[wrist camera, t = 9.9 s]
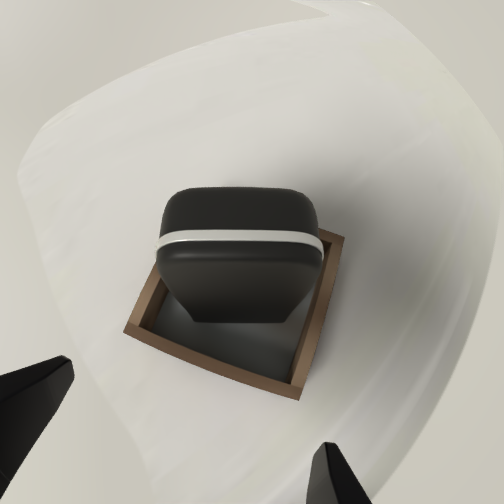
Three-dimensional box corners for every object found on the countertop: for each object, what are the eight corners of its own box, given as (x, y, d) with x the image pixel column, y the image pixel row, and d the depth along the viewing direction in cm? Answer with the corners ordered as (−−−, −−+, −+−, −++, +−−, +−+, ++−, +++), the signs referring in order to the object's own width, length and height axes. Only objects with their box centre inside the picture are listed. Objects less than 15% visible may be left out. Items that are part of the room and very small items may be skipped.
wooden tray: (289, 397, 19) (298, 400, 16) (139, 340, 20) (122, 332, 17) (331, 257, 24) (344, 237, 21) (199, 213, 25) (194, 189, 22)
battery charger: (286, 274, 22) (325, 174, 12) (288, 324, 20) (339, 258, 10) (192, 273, 22) (155, 172, 11) (189, 323, 20) (139, 256, 10)
